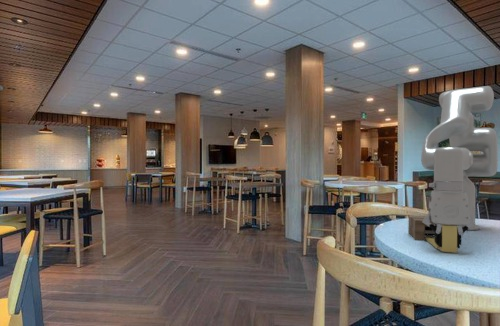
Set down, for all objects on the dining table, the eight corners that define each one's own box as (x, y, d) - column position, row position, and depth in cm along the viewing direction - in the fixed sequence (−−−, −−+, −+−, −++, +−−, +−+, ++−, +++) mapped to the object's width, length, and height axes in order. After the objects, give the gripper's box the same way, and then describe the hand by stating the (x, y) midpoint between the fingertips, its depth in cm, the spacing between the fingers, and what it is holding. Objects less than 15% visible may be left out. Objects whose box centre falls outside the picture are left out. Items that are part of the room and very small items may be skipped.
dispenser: (408, 233, 118) (408, 215, 118) (443, 235, 115) (443, 217, 115) (415, 240, 108) (415, 220, 108) (454, 242, 105) (454, 222, 105)
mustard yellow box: (424, 238, 110) (424, 216, 110) (439, 239, 109) (440, 216, 109) (440, 251, 93) (440, 225, 93) (458, 252, 92) (459, 226, 92)
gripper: (421, 187, 93) (420, 247, 93) (485, 189, 88) (485, 252, 88) (415, 185, 100) (414, 241, 100) (474, 187, 96) (473, 245, 96)
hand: (447, 245), depth 94 cm, fingers closed on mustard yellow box, 4 cm apart
